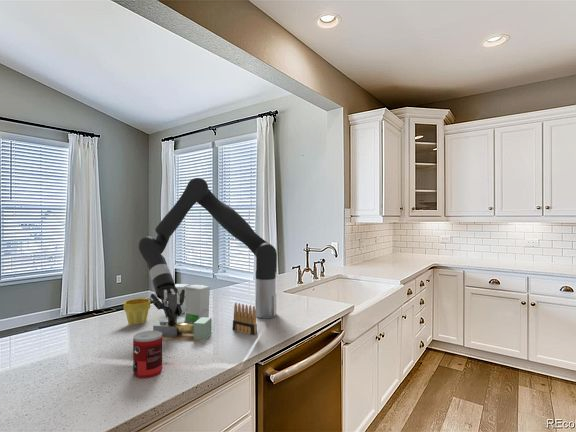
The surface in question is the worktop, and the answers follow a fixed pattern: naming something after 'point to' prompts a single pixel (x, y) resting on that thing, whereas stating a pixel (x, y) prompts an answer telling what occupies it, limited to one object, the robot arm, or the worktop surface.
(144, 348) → the canned food
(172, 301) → the slide bolt
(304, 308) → the worktop surface
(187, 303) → the skincare box
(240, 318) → the ammunition clip
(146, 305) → the plant pot
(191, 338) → the oak board
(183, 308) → the supplement box
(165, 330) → the grey bolt guide channel
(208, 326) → the socket block
